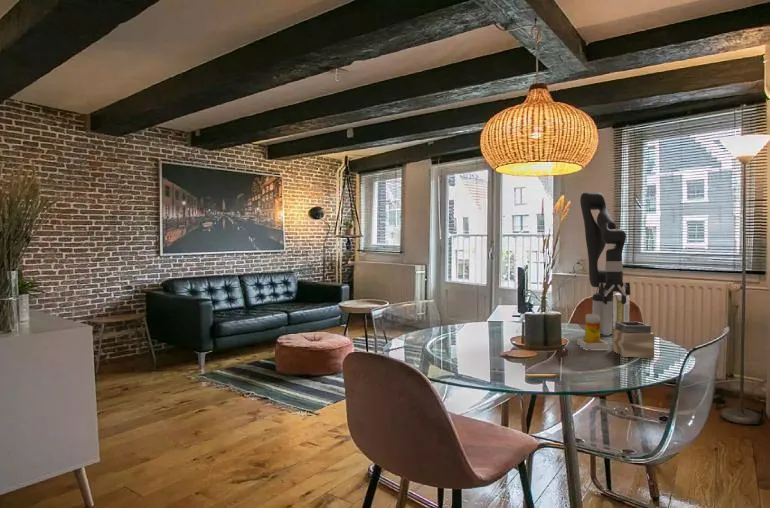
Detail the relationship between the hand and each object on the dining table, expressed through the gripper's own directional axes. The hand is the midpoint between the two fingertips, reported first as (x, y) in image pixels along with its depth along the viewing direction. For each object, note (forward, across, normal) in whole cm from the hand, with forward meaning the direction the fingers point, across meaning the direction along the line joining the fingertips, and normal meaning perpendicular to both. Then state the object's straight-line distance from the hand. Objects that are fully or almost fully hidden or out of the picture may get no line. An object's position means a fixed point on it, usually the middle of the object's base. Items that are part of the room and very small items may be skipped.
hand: (614, 304), depth 233 cm
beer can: (+18, +17, +16) cm, 29 cm away
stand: (+18, +5, +28) cm, 34 cm away
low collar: (+18, +17, +16) cm, 29 cm away
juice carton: (+17, -15, -26) cm, 34 cm away
